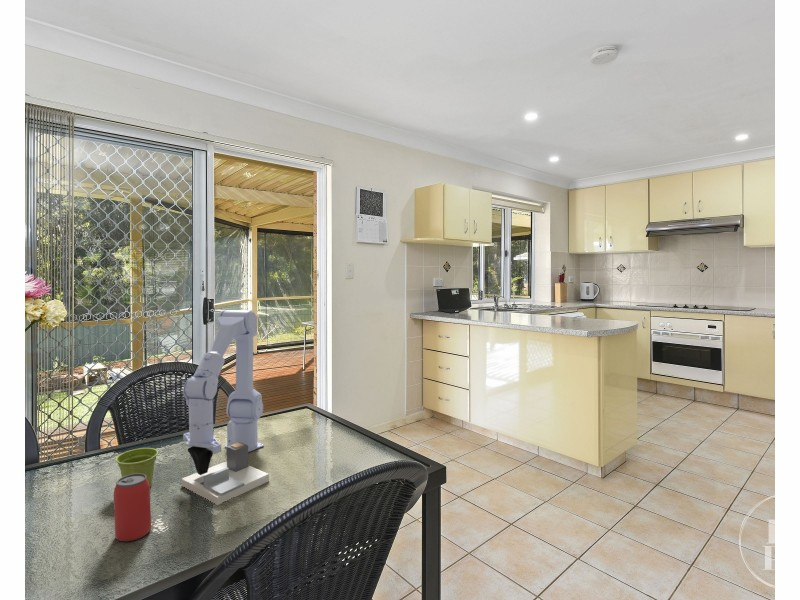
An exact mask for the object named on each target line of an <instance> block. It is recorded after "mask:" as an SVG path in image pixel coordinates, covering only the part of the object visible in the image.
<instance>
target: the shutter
mask: <svg viewBox="0 0 800 600" xmlns="http://www.w3.org/2000/svg"><path fill="white" fill-rule="evenodd" d="M242 486H244V483H243V482H241V481H238V480H236V479H234V478H232V477H230V476H229V468H227V467H226V468H224V469H221V470H219V471H216V472H214V473H211V474H209V475H206V476H204V487H205V488H207V489H209V490H211V491H212V492H214V493H216V494H218V495H220V496H222V495H225V494H227V493H229V492H231V491H233V490H236V489H238V488H240V487H242Z"/></svg>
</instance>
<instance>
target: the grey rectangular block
mask: <svg viewBox="0 0 800 600" xmlns="http://www.w3.org/2000/svg"><path fill="white" fill-rule="evenodd" d="M225 449H226V461H227V468H229V469H230V470H232V471H235V472H237V471H239V470H242V469H244V468H247V467H249V466H250V465H249V452H248V445H246V444H243V443H240V442H238V443H235V444H233V445H230V446H227V447H225Z"/></svg>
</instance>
